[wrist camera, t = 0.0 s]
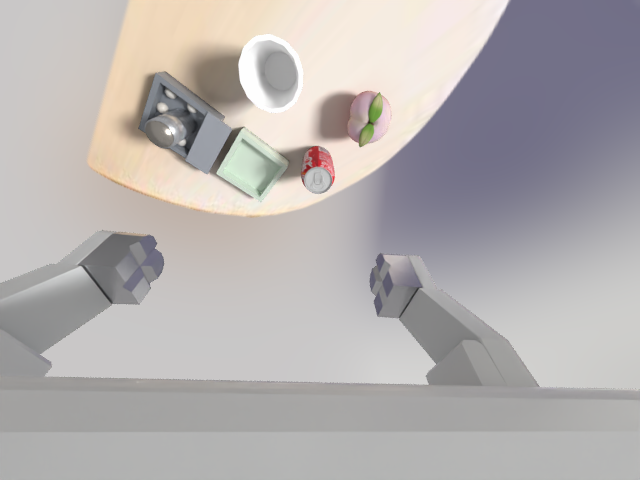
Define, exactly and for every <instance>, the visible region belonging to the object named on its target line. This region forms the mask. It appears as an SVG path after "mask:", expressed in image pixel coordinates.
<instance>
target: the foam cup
mask: <svg viewBox="0 0 640 480" xmlns="http://www.w3.org/2000/svg"><path fill="white" fill-rule="evenodd" d="M238 66H239V76H240V83H241V85H242V87H243V89H244V91H245V93H246V95H247V97H248V98H249V99H250V100H251V101H252V102H253V103H254V104H255V105H256V106H257V107H258V108H260V109H262V110H265V111H268V112H271V113H276V112H283V111H286V110H287V109H288V108H290V107H291V106H292V105H294V104H295V103H296V101H297V99H298V97H299V95H300V93H301V90H302V88H303V69H302V66H301V63H300V60H299V57H298V54H297V53H296V52H295V51H294V49H293V48H292V47H291V46H290V45H289V43H288V42H287V41H285V40H283V39H280V38H278V37H276V36H274V35H271V34H266V35H260V36H255V37H254V38H253V39H251V40H250V41H249V42H248V43H247V44H246V45H245V46H244V47H243V50H242V53H241V57H240V60H239V63H238Z"/></svg>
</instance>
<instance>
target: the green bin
mask: <svg viewBox="0 0 640 480" xmlns="http://www.w3.org/2000/svg"><path fill="white" fill-rule="evenodd" d="M288 165H289V161H288V160H287V159H286V158H284V157H283V156H282V155H280V154H279V153H278V152H277V151H275V150H274V149H273V148H271V147H270V146H269V145H267V144H266V143H265V142H264V141H262V140H261V139H260V138H258V137H257V136H256V135H255V134H253V133H252V132H251V131H249V130H248V129H247V128H245V127H244V128H243V129H242V130H241V131H240V133H239V134H238V136H237V138H236V140H235V141H234V143H233V145H232V146H231V148H230V150H229V152H228V153H227V155H226V157H225V159H224V160H223V162H222V164H221V166H220V167H219V169H218V171H217V173H216V174H217V175H219V176H221V177H222V178H224V179H225V180H227V181H228V182H230V183H232V184H233V185H235V186H236V187H238V188H239V189H241V190H242V191H244V192H246V193H247V194H249V195H250V196H252V197H253V198H255V199H257V200H258V201H260V202H262V200H263V199H264V198H265V196H266V195H267V194H268V193H269V191H270V190H271V189H272V187H273V186H274V185H275V183H276V182H277V181H278V179H279V178H280V177H281V176H282V174H283V173H284V172H285V170H286V169H287V168H288Z"/></svg>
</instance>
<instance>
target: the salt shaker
mask: <svg viewBox="0 0 640 480" xmlns="http://www.w3.org/2000/svg"><path fill="white" fill-rule="evenodd" d="M196 129H197V123H196V120H195V118H194V117H193V115H192V114H191V113H190V112H188V111H187V110H185V109H182V108H178V109H175V110H172V111H170V112H167V113H165V114H162V115H160V116H157V117H155V118H152V119H150V120H148V121H147V122H146V123H145V132H146V135H147V137H148V138H149V139H150V141H151V142H152V143H154V144H155V145H156V146H158V147H161V148H164V149H168V148H171V147H173V146H174V145H176V144H178V143H179V142H181V141H182V140H184V139H185V138H187V137H188V136H190V135H191V134H193V133H194V132H195V131H196Z"/></svg>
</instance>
